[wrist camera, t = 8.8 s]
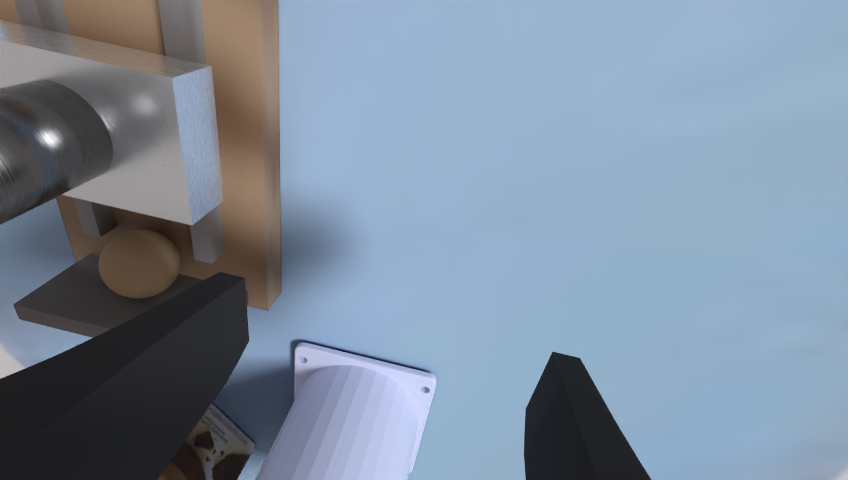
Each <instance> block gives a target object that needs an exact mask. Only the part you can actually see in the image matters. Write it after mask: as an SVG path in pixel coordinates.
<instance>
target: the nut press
mask: <svg viewBox="0 0 848 480" xmlns="http://www.w3.org/2000/svg"><path fill="white" fill-rule="evenodd" d="M0 20H3V21H8V22H13V23H17V24H22V25H26V26H31V27H35V28H40V29H45V30H49V31H54V32H58V33H63V34H68V35H72V36H77V37H81V38H86V39H91V40H95V41H100V42H104V43H109V44H114V45H118V46H123V47H127V48H132V49H137V50H141V51H146V52H150V53H155V54H159V55H164V56H169V57H173V58H178V59H182V60H187V61H192V62H196V63H201V64H205V65H210V66H212V75H213V87H214V98H215V109H216V120H217V132H218V143H219V154H220V165H221V176H222V188H223V199H224V201H222V202H221V203H220V204H219V205H217V206H216V207H215V208H214V209H212V210H211V211H210V212H209V213H207V214H206V215H205V216H204V217H202V218H201V219H200V220H198V221H197V222H196V223H195V224H193V225H188V224H184V223H180V222H176V221H171V220H167V219H163V218H159V217H154V216H150V215H146V214H142V213H137V212H133V211H129V210H125V209H120V208H116V207H112V206H108V205H103V204H99V203H95V202H91V201H86V200H82V199H78V198H74V197H69V196H65V195H60V196H58V197H56V200H57V203H58V206H59V209H60V212H61V215H62V218H63V222H64V225H65V228H66V231H67V234H68V237H69V240H70V243H71V246H72V249H73V253H74V256H75V259H76V263H75V264H73V265H72V266H70V267H69V268H68V269H66V270H65V271H63V272H62V273H60V274H59V275H57V276H56V277H54V278H53V279H51V280H50V281H48V282H47V283H45V284H44V285H42V286H41V287H39V288H38V289H36V290H35V291H33V292H32V293H30V294H29V295H27V296H26V297H24V298H23V299H21V300H20V301H18V302H17V303H15V304H14V305H13V306H14V308H15V310H16V312H17V315H18V317H19V319H21V320H25V321H29V322H33V323H37V324H41V325H45V326H49V327H53V328H57V329H61V330H65V331H69V332H73V333H77V334H81V335H85V336H89V337H93V338H94V337H96V336H98V335H100V334H102V333H104V332H106V331H108V330H110V329H112V328H114V327H117V326H119V325H121V324H123V323H125V322H127V321H129V320H130V319H132V318H134V317H136V316H138V315H140V314H142V313H144V312H145V311H147V310H149V309H151V308H153V307H155V306H157V305H159V304H161V303H162V302H164V301H166V300H168V299H170V298H172V297H174V296H175V295H177V294H179V293H181V292H183V291H185V290H186V289H188V288H190V287H192V286H194V285H196V284H197V283H199V282H201V281H203V280H205V279H207V278H209V277H211V276H213V275H215V274H216V273H218V272H223V273H227V274H231V275H235V276H239V277H243V278H245V288H246V303H247V306H251V307H255V308H259V309H263V310H267V311H268V310H269V308H270V307H271V306H272V304H273V303H274V301H275V300H276V299H277V297H278V296H279V294H280V293H281V228H280V130H279V32H278V0H0Z"/></svg>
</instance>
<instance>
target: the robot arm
mask: <svg viewBox="0 0 848 480" xmlns="http://www.w3.org/2000/svg"><path fill="white" fill-rule="evenodd" d="M248 342H249V333H248V318H247V303H246V288H245V278H243V277H239V276H235V275H231V274H227V273H223V272H218V273H216V274H215V275H213V276H211V277H209V278H207V279H205V280H203V281H201V282H199V283H197V284H196V285H194V286H192V287H190V288H188V289H186V290H185V291H183V292H181V293H179V294H177V295H175V296H174V297H172V298H170V299H168V300H166V301H164V302H162V303H161V304H159V305H157V306H155V307H153V308H151V309H149V310H147V311H145V312H144V313H142V314H140V315H138V316H136V317H134V318H132V319H130V320H129V321H127V322H125V323H123V324H121V325H119V326H117V327H114V328H112V329H110V330H108V331H106V332H104V333H102V334H100V335H98V336H96V337H94V338H92V339H90V340H88V341H86V342H84V343H82V344H79V345H77V346H75V347H73V348H71V349H69V350H67V351H65V352H63V353H60V354H58V355H56V356H54V357H52V358H49V359H47V360H45V361H42V362H40V363H38V364H35V365H33V366H31V367H28V368H26V369H23V370H21V371H19V372H16V373H14V374H11V375H9V376H6V377H4V378H1V379H0V480H158V478H159V477H160V475H161V474H162V472H163V471H164V469H165V468H166V466H167V465H168V464H169V462H170V461H171V459H172V458H173V457H174V455H175V454H176V452H177V451H178V450H179V448H180V447H181V445H182V444H183V443H184V441H185V440H186V438H187V437H188V436H189V434H190V433H191V431H192V430H193V429H194V427H195V426H196V424H197V423H198V422H199V420H200V419H201V417H202V416H203V415H204V413H205V412H206V410H207V409H208V408H209V406H210V405H211V403H212V402H213V400H214V399H215V398H216V396H217V395H218V393H219V392H220V391H221V389H222V388H223V386H224V385H225V383H226V382H227V380H228V379H229V377H230V375H231V373H232V372H233V370H234V368H235V366H236V365H237V363H238V361H239V359H240V357H241V355H242V353H243V351H244V349H245V347H246V346H247V344H248ZM436 382H437V379H436V377H435V376H434V375H433V374H431V373H428V372H423V371H419V370H415V369H411V368H407V367H403V366H399V365H395V364H391V363H387V362H383V361H379V360H375V359H370V358H366V357H362V356H358V355H354V354H350V353H346V352H342V351H338V350H334V349H330V348H326V347H322V346H317V345H313V344H309V343H304V342H302V343H299V344H298V345H297V347H296V348H295V365H294V403H293V405H292V407H291V409H290V411H289V413H288V415H287V417H286V419H285V421H284V423H283V425H282V427H281V429H280V431H279V433H278V435H277V437H276V439H275V441H274V443H273V445H272V447H271V449H270V451H269V453H268V455H267V457H266V459H265V461H264V463H263V465H262V467H261V469H260V471H259V473H258V475H257V477H256V479H255V480H407V479H408V474H409V473H411V472H412V469H413V466H414V462H415V459H416V455H417V451H418V448H419V444H420V441H421V437H422V433H423V430H424V426H425V423H426V419H427V416H428V412H429V408H430V405H431V401H432V398H433V394H434V391H435V387H436ZM426 387H427V388H426ZM524 460H525V474H526V480H651V479H650V477H649V475H648V474H647V472H646V471H645V469H644V468H643V466H642V464H641V463H640V461H639V460H638V458H637V456H636V455H635V453H634V451H633V450H632V448H631V446H630V445H629V443H628V441H627V440H626V438H625V437H624V435H623V433H622V432H621V430H620V428H619V426H618V425H617V423H616V421H615V420H614V418H613V416H612V414H611V413H610V411H609V409H608V407H607V406H606V404H605V402H604V400H603V398H602V397H601V395H600V393H599V391H598V390H597V388H596V386H595V384H594V382H593V381H592V379H591V377H590V375H589V373H588V372H587V370H586V368H585V366H584V365H583V363H582V361H581V359H580V358H577V357H573V356H569V355H564V354H560V353H556V352H552V354H551V356H550V359H549V361H548V363H547V365H546V367H545V369H544V371H543V374H542V376H541V378H540V380H539V382H538V384H537V386H536V388H535V391H534V393H533V395H532V397H531V399H530V401H529V403H528V405H527V408H526V416H525V439H524Z"/></svg>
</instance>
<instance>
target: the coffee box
mask: <svg viewBox="0 0 848 480" xmlns="http://www.w3.org/2000/svg"><path fill="white" fill-rule="evenodd" d="M254 448H255V444H254V443H253V442H252V441H251V440H250V439H249V438H248V437H247V436H246V435H245V434H244V433H243V432H242V431H241V430H240V429H239V428H238V427H236V426H235V425H234V424H233V423H232V422H231V421H230V420H229V419H228V418H227V417H226V416H225V415H224V414H223V413H222V412H221V411H220V410H219V409H218V408H217V407H215V406H214V405H213V404H212V403H211V405H210V406H209V408H208V409H207V410H206V412H205V413H204V415H203V416H202V417H201V419H200V420H199V422H198V423H197V424H196V426H195V427H194V429H193V430H192V431H191V433H190V434H189V436H188V437H187V438H186V440H185V441H184V443H183V444H182V445H181V447H180V448H179V450H178V451H177V452H176V454H175V455H174V457H173V458H172V459H171V461H170V462H169V464H168V465H167V466H166V468H165V469H164V471H163V472H162V474H161V475H160V477H159V478H158V480H237V479H238V477H239V475H240V473H241V471H242V470H243V468H244V466H245V464H246V462H247V460H248V459H249V457H250V455H251V453H252V451H253V450H254Z"/></svg>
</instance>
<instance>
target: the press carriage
mask: <svg viewBox="0 0 848 480" xmlns="http://www.w3.org/2000/svg"><path fill="white" fill-rule="evenodd" d="M60 195H65V196H69V197H74V198H78V199H82V200H86V201H91V202H95V203H99V204H103V205H108V206H112V207H116V208H120V209H125V210H129V211H133V212H137V213H142V214H146V215H150V216H154V217H159V218H163V219H167V220H171V221H176V222H180V223H184V224H188V225H193V224H195V223H196V222H197V221H198V220H200V219H201V218H202V217H204V216H205V215H206V214H207V213H209V212H210V211H211V210H212V209H214V208H215V207H216V206H217V205H219V204H220V203H221V202H222V201H224V199H223V188H222V176H221V165H220V154H219V143H218V132H217V120H216V109H215V98H214V87H213V75H212V66H210V65H205V64H201V63H196V62H192V61H187V60H182V59H178V58H173V57H169V56H164V55H159V54H155V53H150V52H146V51H141V50H137V49H132V48H127V47H123V46H118V45H114V44H109V43H104V42H100V41H95V40H91V39H86V38H81V37H77V36H72V35H68V34H63V33H58V32H54V31H49V30H45V29H40V28H35V27H31V26H26V25H22V24H17V23H13V22H8V21H3V20H0V225H1V224H3V223H5V222H7V221H9V220H11V219H13V218H15V217H17V216H19V215H21V214H23V213H25V212H27V211H29V210H31V209H33V208H35V207H37V206H39V205H41V204H43V203H45V202H47V201H49V200H51V199H54V198H56V197H58V196H60Z"/></svg>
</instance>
